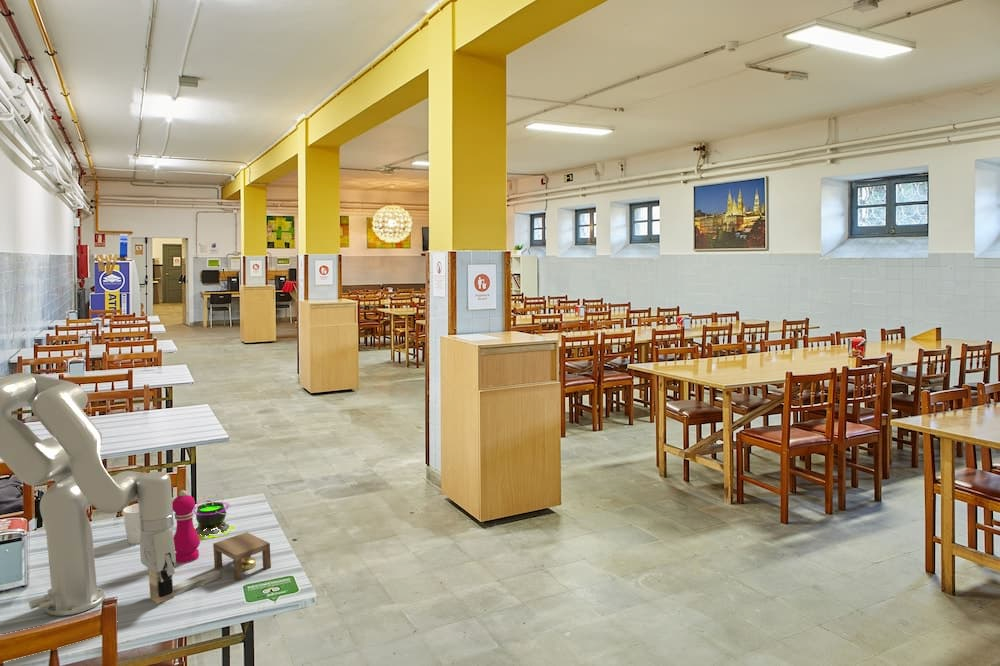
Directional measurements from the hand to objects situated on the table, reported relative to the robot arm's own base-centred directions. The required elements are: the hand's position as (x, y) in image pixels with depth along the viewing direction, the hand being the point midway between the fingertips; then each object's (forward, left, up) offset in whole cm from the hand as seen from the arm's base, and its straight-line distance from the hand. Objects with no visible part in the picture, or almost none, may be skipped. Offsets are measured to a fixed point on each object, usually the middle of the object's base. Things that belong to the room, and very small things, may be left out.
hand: (161, 591), depth 175 cm
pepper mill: (+15, +18, -2) cm, 24 cm away
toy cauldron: (+30, +32, -2) cm, 44 cm away
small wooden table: (+22, 0, -2) cm, 22 cm away
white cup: (+12, +42, -2) cm, 44 cm away
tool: (+6, 0, -2) cm, 7 cm away
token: (+23, 0, -2) cm, 23 cm away
